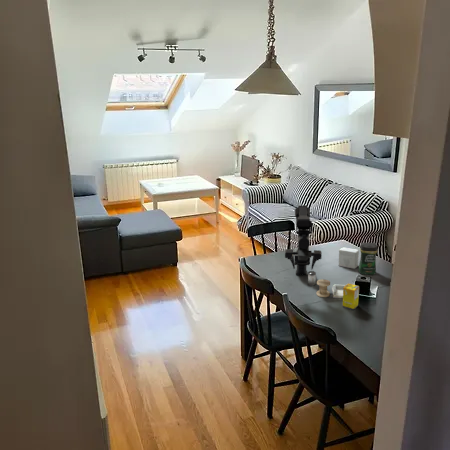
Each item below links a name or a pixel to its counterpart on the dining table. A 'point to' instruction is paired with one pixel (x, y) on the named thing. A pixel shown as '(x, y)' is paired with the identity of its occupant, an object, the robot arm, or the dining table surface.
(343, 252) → the skincare box
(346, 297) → the supplement box
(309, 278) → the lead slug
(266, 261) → the dining table surface
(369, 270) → the coffee jar
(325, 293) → the spool
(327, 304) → the dining table surface
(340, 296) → the white rectangular tray
